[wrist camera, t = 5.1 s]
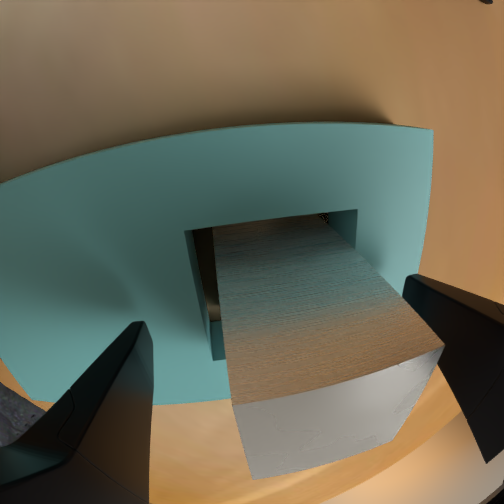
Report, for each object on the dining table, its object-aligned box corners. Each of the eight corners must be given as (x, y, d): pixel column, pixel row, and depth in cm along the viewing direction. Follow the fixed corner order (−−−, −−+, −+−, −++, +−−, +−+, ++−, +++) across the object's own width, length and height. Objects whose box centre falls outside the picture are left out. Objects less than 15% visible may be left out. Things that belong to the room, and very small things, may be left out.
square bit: (312, 210, 11) (445, 344, 4) (311, 292, 13) (392, 440, 6) (211, 222, 11) (232, 405, 4) (225, 306, 13) (252, 479, 6)
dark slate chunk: (90, 475, 22) (87, 507, 18) (-60, 385, 14) (-73, 412, 9) (133, 443, 18) (130, 491, 14) (-78, 304, 10) (-106, 338, 6)
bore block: (394, 124, 10) (433, 130, 8) (373, 329, 15) (393, 358, 13) (-33, 198, 8) (-64, 216, 6) (44, 369, 13) (32, 399, 11)
